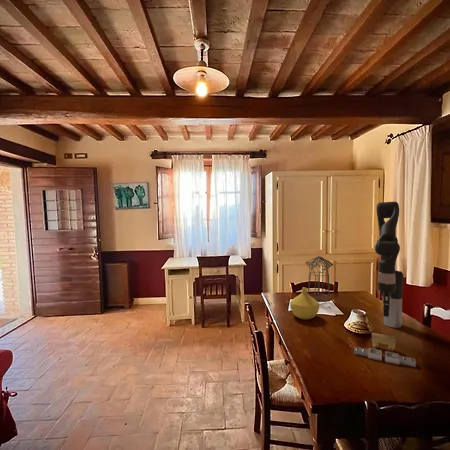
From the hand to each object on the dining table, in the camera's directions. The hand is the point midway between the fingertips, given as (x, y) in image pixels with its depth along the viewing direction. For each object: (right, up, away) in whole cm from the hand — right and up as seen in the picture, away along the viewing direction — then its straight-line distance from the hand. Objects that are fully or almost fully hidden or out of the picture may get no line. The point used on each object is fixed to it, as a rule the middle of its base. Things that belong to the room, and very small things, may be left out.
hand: (386, 313), depth 141 cm
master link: (0, -18, +2) cm, 18 cm away
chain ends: (-6, -19, -8) cm, 21 cm away
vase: (-28, -16, +44) cm, 55 cm away
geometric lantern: (-10, -15, +72) cm, 74 cm away
